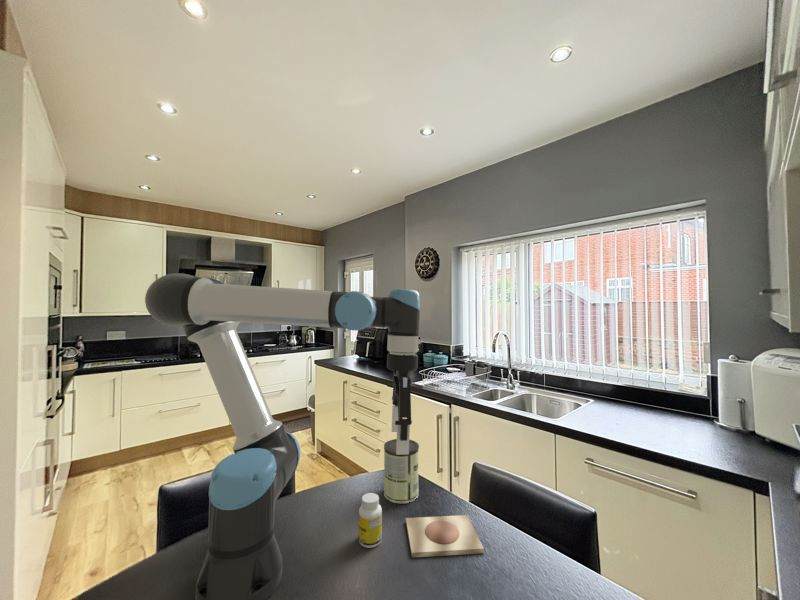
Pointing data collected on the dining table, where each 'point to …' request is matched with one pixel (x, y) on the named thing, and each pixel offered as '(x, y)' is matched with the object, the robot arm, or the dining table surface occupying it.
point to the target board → (442, 536)
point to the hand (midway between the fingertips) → (399, 441)
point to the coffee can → (400, 473)
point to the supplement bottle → (370, 521)
